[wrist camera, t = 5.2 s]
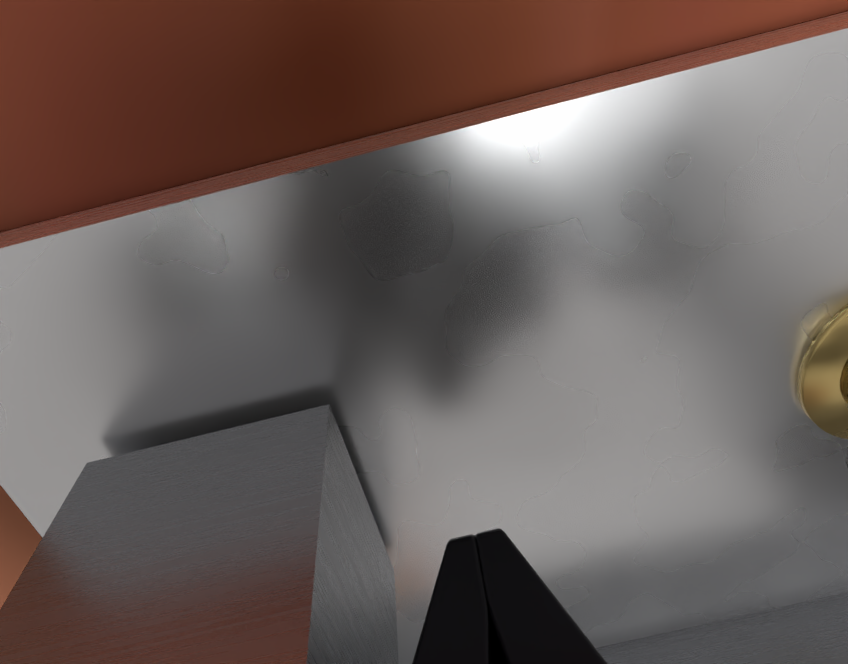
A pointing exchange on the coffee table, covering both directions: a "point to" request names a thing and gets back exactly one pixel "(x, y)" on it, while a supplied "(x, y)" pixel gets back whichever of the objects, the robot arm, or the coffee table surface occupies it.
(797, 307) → the hole plate
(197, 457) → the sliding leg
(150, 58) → the coffee table surface
